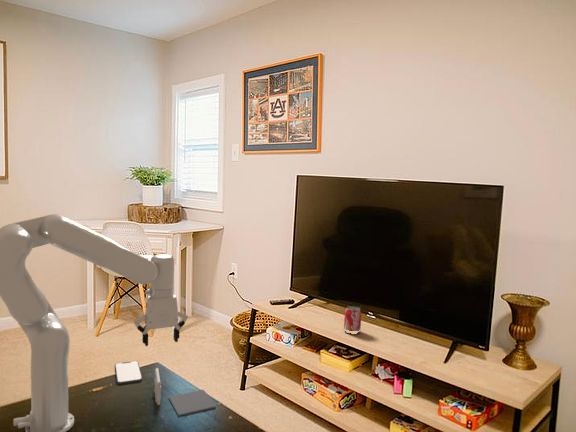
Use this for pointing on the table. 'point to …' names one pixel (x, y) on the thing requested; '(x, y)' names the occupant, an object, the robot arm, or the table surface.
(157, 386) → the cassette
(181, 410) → the pad
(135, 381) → the phone case
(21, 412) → the table surface
